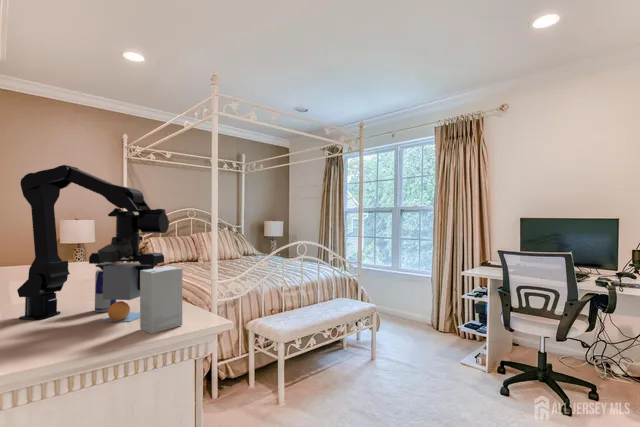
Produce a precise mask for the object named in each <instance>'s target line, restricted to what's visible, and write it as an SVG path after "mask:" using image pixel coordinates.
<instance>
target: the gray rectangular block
mask: <svg viewBox="0 0 640 427" xmlns="http://www.w3.org/2000/svg"><path fill="white" fill-rule="evenodd" d="M117 263H118V264H113V265H107V266H103V299H108V300H116V301H131V300H134V299H137V298H140V290H138V270H137V268H136V266H138V265H141V264H140V263H139V262H117Z"/></svg>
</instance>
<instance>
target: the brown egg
mask: <svg viewBox="0 0 640 427" xmlns="http://www.w3.org/2000/svg"><path fill="white" fill-rule="evenodd" d="M129 312H131V308H130V305H129V304H128V302H125V301H124V300H118V301H116V302H115V303H113V304H112V305H111V306H110V307H109V310H108V312H107V314H108V318H109V317H110V318H111V319H112V320H115V321H114V322H120V320H123V319H125V318H126V317H127V316H128V315H129Z"/></svg>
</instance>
